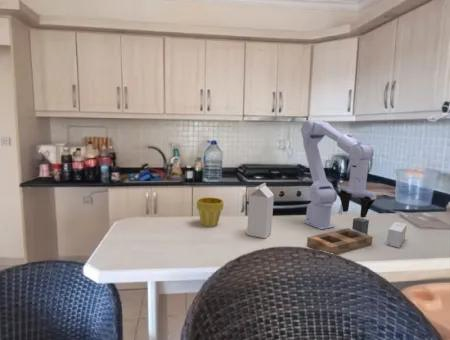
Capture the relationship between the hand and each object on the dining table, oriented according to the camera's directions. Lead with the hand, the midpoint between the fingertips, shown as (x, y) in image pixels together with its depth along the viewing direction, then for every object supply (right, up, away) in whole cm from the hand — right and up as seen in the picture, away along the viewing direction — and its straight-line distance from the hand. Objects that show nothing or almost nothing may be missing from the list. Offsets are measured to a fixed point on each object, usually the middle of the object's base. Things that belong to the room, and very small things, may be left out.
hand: (353, 214), depth 117 cm
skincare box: (+19, -7, +5) cm, 21 cm away
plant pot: (-54, -6, +10) cm, 55 cm away
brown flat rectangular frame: (-7, -10, -6) cm, 14 cm away
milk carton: (-35, -8, +1) cm, 35 cm away
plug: (+5, -9, +7) cm, 12 cm away
